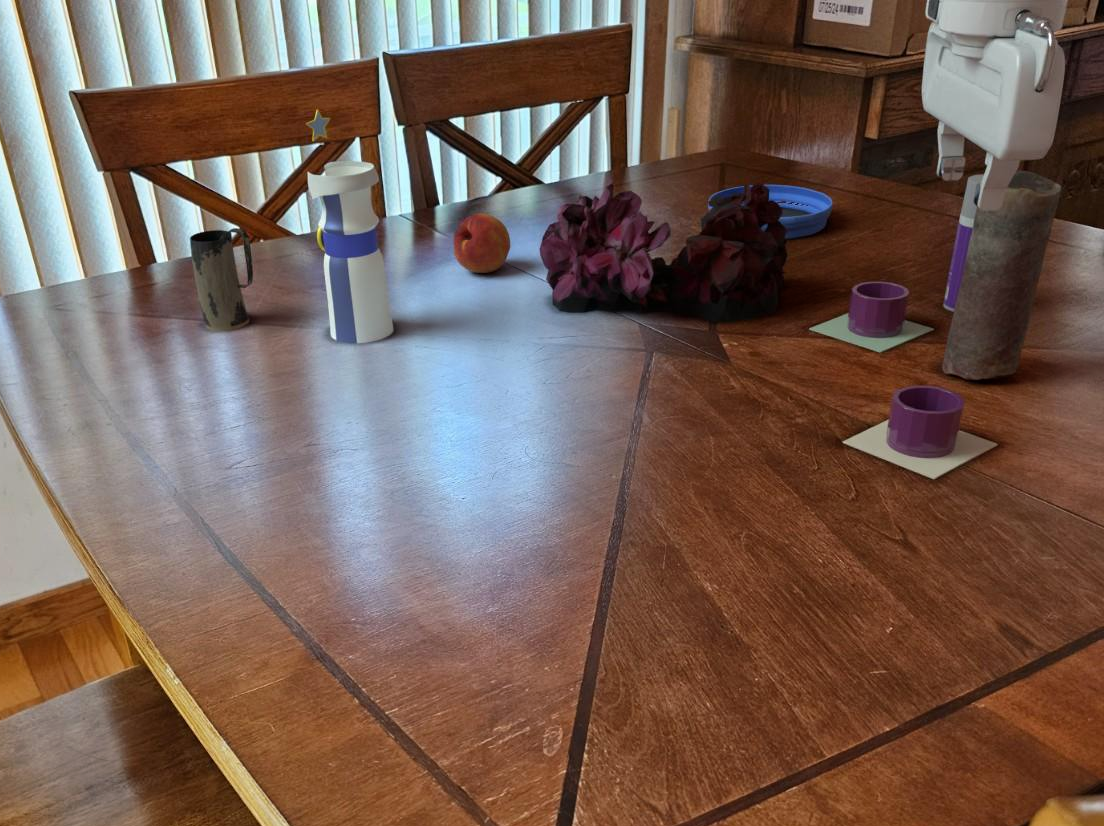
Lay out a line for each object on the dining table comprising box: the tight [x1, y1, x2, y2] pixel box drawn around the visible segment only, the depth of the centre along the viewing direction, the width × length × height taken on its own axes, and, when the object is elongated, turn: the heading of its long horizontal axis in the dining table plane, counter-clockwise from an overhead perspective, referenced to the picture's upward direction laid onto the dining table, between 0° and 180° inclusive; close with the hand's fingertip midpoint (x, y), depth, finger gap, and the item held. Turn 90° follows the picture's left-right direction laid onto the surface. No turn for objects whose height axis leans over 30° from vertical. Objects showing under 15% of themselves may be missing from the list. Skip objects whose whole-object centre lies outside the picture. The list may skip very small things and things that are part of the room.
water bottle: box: [305, 109, 394, 344], centre depth 127 cm, size 8×9×25 cm
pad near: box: [842, 419, 999, 480], centre depth 103 cm, size 10×10×1 cm
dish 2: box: [886, 385, 966, 458], centre depth 102 cm, size 6×6×4 cm
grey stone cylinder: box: [941, 170, 1062, 381], centre depth 111 cm, size 8×7×20 cm
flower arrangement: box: [539, 173, 788, 323], centre depth 135 cm, size 31×20×15 cm, turn 88°
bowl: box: [707, 184, 834, 240], centre depth 164 cm, size 18×18×4 cm
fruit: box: [453, 212, 511, 274], centre depth 149 cm, size 8×8×8 cm
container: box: [942, 173, 985, 313], centre depth 128 cm, size 5×5×15 cm
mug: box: [189, 227, 254, 332], centre depth 135 cm, size 8×6×12 cm
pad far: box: [809, 312, 935, 354], centre depth 128 cm, size 10×10×1 cm
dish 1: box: [847, 281, 910, 338], centre depth 126 cm, size 6×6×4 cm
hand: (966, 193), depth 90 cm, fingers open, 8 cm apart
